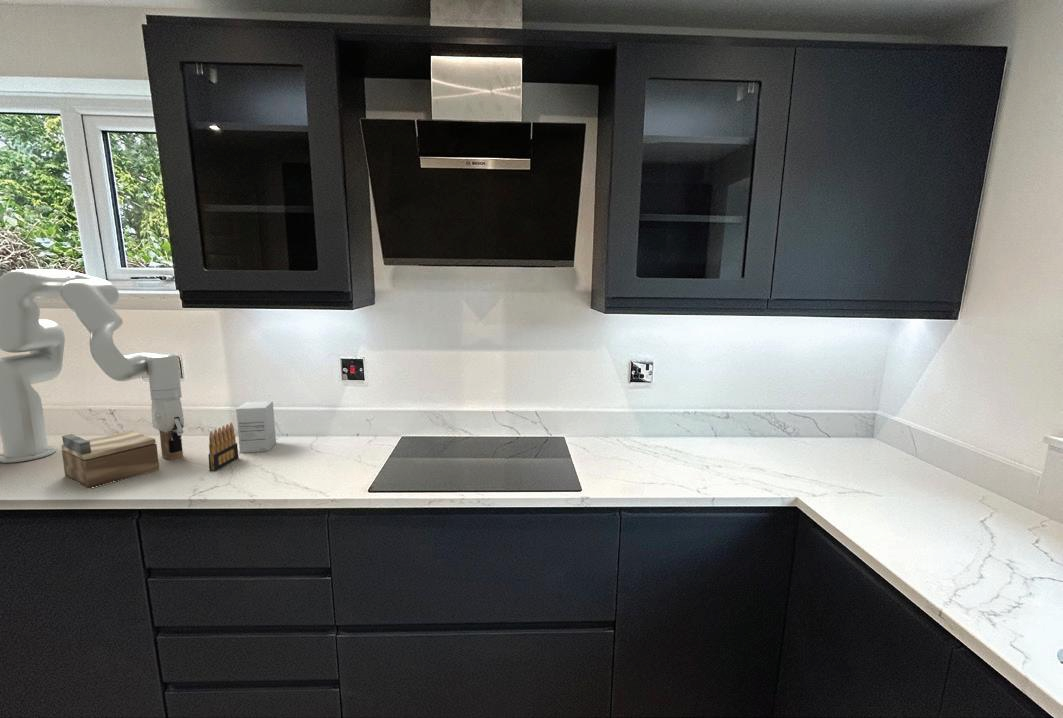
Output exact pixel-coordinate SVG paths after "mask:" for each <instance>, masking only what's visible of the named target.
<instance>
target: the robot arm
mask: <svg viewBox="0 0 1063 718" xmlns="http://www.w3.org/2000/svg"><path fill="white" fill-rule="evenodd" d="M58 298H61V299H62V300H63V301H64V303H65V304H66V306H68V307H69V309H70V310H71V311H72V312H73V314H74V315H75V317H77V319H78V320H79V321H80V323H82V325H83V326H84V327H85V328H86V330H87V331H88V333H89V350H90V354H91V357H92V359H93V361H94V362H95V363H96V364H97V366H99V368H100V369H101V371H102V372H103V373H104V374H105V375H107V377H109V378H110V379H112V380H114V381H116V382H127V381H128V382H129V381H133V380H137V379H140V378H146V377H148V381H149V392H150V401H151V424H152V427H153V428H154V429H155V430H158V431H159V430H160V431H163V432H168V433H169V438H170V441H168V442H169V451H170V453H175V452H178V451H181V450H183V443H182V444H181V439H182V435H183V433H184V430H183V429H184V427H185V418H184V417H185V416H184V411H183V407H182V406H183V405H182V402H181V401H182V400H181V398H182V389H181V388H182V387H181V386H182V385H181V378H180V368H179V358H178V356H177V355H176V354H173V353H152V352H144V351H143V352H135V353H129V354H122V353H121V351H120V350H119V348H118V347H117V346H116V345H115V342H114V339H113V335H114V332H115V331H117V330H118V329H120V328H121V327H122V325H123V324H124V323H123V319H122V317H121V316H120V314H118V312H117V311H116V310H115V309H114V307H113V305H115V304H116V303H117V302H118V300H119V298H120V293H119V290H118V289H117V287H116V286H115V285H114V284H113V283H112V282H111V281H108V280H106V279H102V278H99V277H95V276H91V275H87V274H84V273H80V272H76V271H71V270H65V269H63V270H62V269H44V268H42V269H41V268H22V269H14V270H9V271H6V272H5V273H4V274H2V275H1V276H0V350H1V351H3V352H6V353H12V354H14V353H15V355H9V356H4V357H3V356H2V357H0V439H1V444H2V450H3V451H2V452H3V453H1V454H0V463H4V464H5V463H6V464H8V463H21V462H26V461H27V462H28V461H33V460H37V459H42V458H45V457H47V456H50V455H52V454H54V453H55V452H56V451H57V449H56V447H55V446H53V445H49V444H48V443H49V442H48V437H47V430H46V424H45V422H46V421H45V416H44V411H43V410H44V409H43V403H42V398H41V396H40V394H39V393H38V392H37V390H36V389H35V388H34V387H33V386H32V385H33V384H38V383H43V382H49V381H51V380H54V379H56V378H57V377H58V376H59V375H60V374H61V371H62V368H63V361H64V354H65V353H64V352H65V342H66V340H65V339H66V338H65V333H64V331H63V328H62V327H61V325H59V324H58V323H57V322H56V321H53V320H51V319H45V318H41V319H40V313H41V310H40V305H39V304H38V302H37V301H36V299H58ZM26 352H27V353H26ZM16 353H23V354H16ZM173 428H175V430H172V429H173ZM160 431H159V432H160ZM172 432H176V433H174V434H172Z"/></svg>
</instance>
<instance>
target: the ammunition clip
mask: <svg viewBox="0 0 1063 718" xmlns="http://www.w3.org/2000/svg"><path fill="white" fill-rule="evenodd" d="M208 437H209V443H208V449H209V451H208V452H209V454H208V468H209V472H217V471H219V470H221V469H224V467H226V466H228V465H230V464H232V463H233V462H235V461H237V460H239V449H238V443H237V442H236V435H235V429H234V425H233V423H232V422H230V423H229V424H228V423H227V424H226V425H225V426H224V425H223V426H222V428H221V427H218V429H214V432H213V431H211V430H210V432H209V436H208Z"/></svg>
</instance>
